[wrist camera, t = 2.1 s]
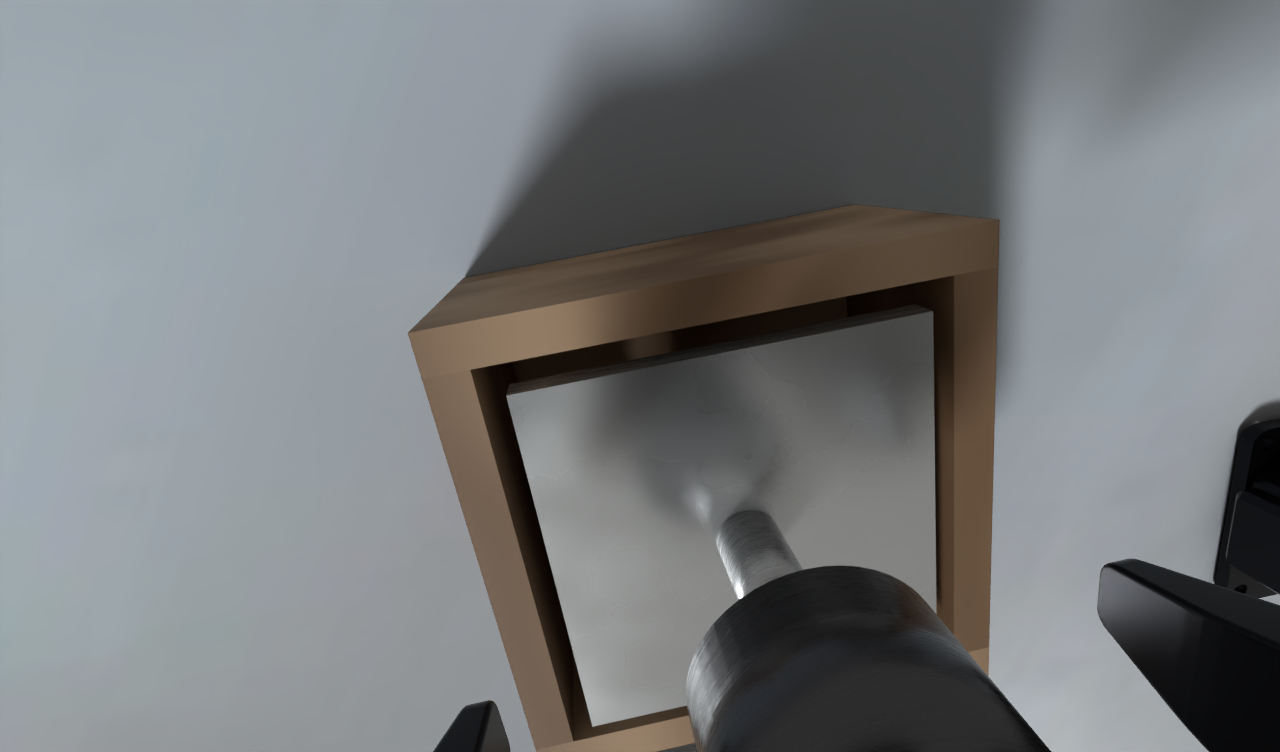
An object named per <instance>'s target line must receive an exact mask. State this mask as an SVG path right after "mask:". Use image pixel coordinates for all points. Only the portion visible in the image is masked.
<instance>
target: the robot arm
mask: <svg viewBox="0 0 1280 752" xmlns="http://www.w3.org/2000/svg"><path fill="white" fill-rule="evenodd" d="M1275 594H1279V595H1280V419H1276V420H1271V421H1266V422H1262V423H1257V424H1254V425H1252V426H1250V427H1249V428H1247V429H1246V430H1245V431H1244V433H1243V434H1242V435H1241V437H1240V440H1239V445H1238V451H1237V456H1236V462H1235V468H1234V474H1233V480H1232V485H1231V491H1230V497H1229V503H1228V509H1227V515H1226V520H1225V526H1224V532H1223V538H1222V544H1221V550H1220V555H1219V561H1218V567H1217V573H1216V579H1215V584H1212V583H1209V582H1206V581H1203V580H1200V579H1196V578H1193V577H1190V576H1187V575H1184V574H1181V573H1178V572H1175V571H1172V570H1169V569H1166V568H1162V567H1159V566H1156V565H1153V564H1150V563H1147V562H1144V561H1141V560H1137V559H1125V560H1121V561H1116V562H1112V563H1108V564H1106V565H1104V567H1103V568H1102V569H1101V573H1100V583H1099V594H1098V605H1097V610H1098V614H1099V617H1100V620H1101V621H1102V623H1103V625H1104V626H1105V628H1106V629H1107V630H1108V632H1109V633H1110V634H1111V635H1112V637H1113V638H1114V639H1115V640H1116V642H1117V643H1118V644H1119V645H1120V647H1121V648H1122V649H1123V650H1124V652H1125V653H1126V654H1127V655H1128V656H1129V658H1130V659H1131V660H1132V661H1133V663H1134V664H1135V665H1136V666H1137V668H1138V669H1139V670H1140V671H1141V673H1142V674H1143V675H1144V676H1145V678H1146V679H1147V680H1148V681H1149V683H1150V684H1151V685H1152V686H1153V687H1154V689H1155V690H1156V691H1157V692H1158V694H1159V695H1160V696H1161V697H1162V699H1163V700H1164V701H1165V702H1166V704H1167V705H1168V706H1169V707H1170V709H1171V710H1172V711H1173V712H1174V713H1175V714H1176V716H1177V717H1178V718H1179V719H1180V720H1181V722H1182V723H1183V724H1184V725H1185V726H1186V727H1187V728H1188V730H1189V731H1190V732H1191V733H1192V734H1193V735H1194V736H1195V737H1196V738H1197V739H1198V741H1199V742H1200V743H1201V744H1202V745H1203V746H1204V747H1205V748H1206V749H1207V750H1208V751H1209V752H1280V605H1277V604H1274V603H1271V602H1268V601H1264V600H1261V599H1258V598H1262V597H1266V596H1271V595H1275ZM433 752H510V746H509V741H508V738H507V735H506V732H505V729H504V726H503V723H502V720H501V717H500V714H499V711H498V708H497V706H496V704H495V703H494V702H493V701H484V702H480V703H475V704H471V705H467V706H465V707H464V708H463V709H462V710H461V711H460V713H459V714H458V716H457V717H456V719H455V720H454V722H453V723H452V725H451V726H450V728H449V729H448V731H447V732H446V733H445V735H444V736H443V738H442V739H441V741H440V742H439V744H438V745H437V747H436V748H435V750H434V751H433Z"/></svg>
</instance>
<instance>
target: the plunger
mask: <svg viewBox="0 0 1280 752" xmlns="http://www.w3.org/2000/svg"><path fill="white" fill-rule="evenodd" d="M506 397H507V401H508V405H509V409H510V413H511V416H512V420H513V424H514V428H515V432H516V436H517V439H518V443H519V447H520V451H521V455H522V459H523V462H524V466H525V470H526V474H527V478H528V482H529V485H530V489H531V493H532V497H533V501H534V505H535V508H536V512H537V516H538V520H539V524H540V527H541V531H542V535H543V539H544V543H545V547H546V550H547V554H548V558H549V562H550V566H551V570H552V573H553V577H554V581H555V585H556V589H557V593H558V596H559V600H560V604H561V608H562V612H563V616H564V619H565V623H566V627H567V631H568V635H569V638H570V642H571V646H572V650H573V654H574V658H575V661H576V665H577V669H578V673H579V677H580V681H581V684H582V688H583V692H584V696H585V700H586V704H587V707H588V711H589V715H590V719H591V723H592V727H594V726H598V725H603V724H607V723H611V722H616V721H620V720H625V719H629V718H634V717H638V716H642V715H647V714H651V713H656V712H660V711H665V710H669V709H673V708H678V707H682V706H687V709H688V714H689V718H690V723H691V727H692V732H693V736H694V741H695V746H696V750H697V752H1051V751H1050V750H1049V749H1048V747H1047V746H1046V745H1045V744H1044V743H1043V741H1042V740H1041V739H1040V738H1039V737H1038V735H1037V734H1036V733H1035V732H1034V731H1033V729H1032V728H1031V727H1030V726H1029V725H1028V723H1027V722H1026V721H1025V720H1024V719H1023V717H1022V716H1021V715H1020V714H1019V713H1018V711H1017V710H1016V709H1015V708H1014V707H1013V705H1012V704H1011V703H1010V702H1009V701H1008V699H1007V698H1006V697H1005V696H1004V695H1003V693H1002V692H1001V691H1000V690H999V689H998V687H997V686H996V685H995V684H994V683H993V681H992V680H991V679H990V678H989V677H988V675H987V674H986V673H985V672H984V671H983V669H982V668H981V667H980V666H979V665H978V663H977V662H976V661H975V660H974V659H973V657H972V656H971V655H970V654H969V653H968V651H967V650H966V649H965V648H964V647H963V645H962V644H961V643H960V642H959V641H958V639H957V638H956V637H955V636H954V635H953V633H952V632H951V631H950V630H949V629H948V627H947V626H946V625H945V624H944V623H943V621H942V620H941V619H940V618H939V617H938V615H937V611H936V520H935V429H934V339H933V311H931V310H929V309H926V308H923V307H921V306H918V305H915V304H913V305H908V306H903V307H898V308H893V309H888V310H883V311H877V312H872V313H867V314H862V315H857V316H852V317H847V318H842V319H837V320H832V321H827V322H822V323H817V324H811V325H806V326H801V327H796V328H791V329H786V330H781V331H776V332H771V333H766V334H761V335H756V336H750V337H745V338H740V339H735V340H730V341H725V342H720V343H715V344H710V345H705V346H700V347H695V348H690V349H684V350H679V351H674V352H669V353H664V354H659V355H654V356H649V357H644V358H639V359H634V360H629V361H624V362H618V363H613V364H608V365H603V366H598V367H593V368H588V369H583V370H578V371H573V372H568V373H563V374H557V375H552V376H547V377H542V378H537V379H532V380H527V381H522V382H517V383H512V384H509V387H508V391H507V394H506Z"/></svg>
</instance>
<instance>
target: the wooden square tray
mask: <svg viewBox="0 0 1280 752" xmlns="http://www.w3.org/2000/svg"><path fill="white" fill-rule="evenodd" d="M998 260H999V220H996V219H987V218H977V217H968V216H959V215H949V214H940V213H931V212H922V211H912V210H903V209H894V208H884V207H875V206H866V205H856V204H855V205H850V206H844V207H839V208H834V209H828V210H823V211H818V212H812V213H807V214H802V215H796V216H791V217H786V218H780V219H775V220H770V221H764V222H759V223H754V224H748V225H743V226H738V227H732V228H727V229H722V230H716V231H711V232H706V233H700V234H695V235H690V236H684V237H679V238H674V239H668V240H663V241H658V242H652V243H647V244H642V245H636V246H631V247H626V248H620V249H615V250H610V251H604V252H599V253H594V254H588V255H583V256H578V257H572V258H567V259H562V260H556V261H551V262H546V263H540V264H535V265H530V266H524V267H519V268H514V269H508V270H503V271H498V272H492V273H487V274H482V275H476V276H471V277H466V278H463V279H462V280H461V281H460V282H459V283H458V284H457V285H456V286H455V287H454V288H453V289H452V290H451V291H450V292H449V293H448V294H447V295H446V296H445V297H444V298H443V299H442V300H441V301H440V302H439V303H438V304H437V305H436V306H435V307H434V308H433V309H432V310H431V311H430V312H429V313H428V314H427V315H426V316H425V317H424V318H423V319H422V320H420V321H419V322H418V323H417V324H416V325H415V326H414V327H413V328H412V329H411V330H410V331H409V332H408V335H409V339H410V342H411V345H412V348H413V352H414V355H415V358H416V361H417V365H418V368H419V371H420V374H421V378H422V381H423V384H424V387H425V391H426V394H427V397H428V400H429V404H430V407H431V410H432V413H433V417H434V420H435V423H436V426H437V430H438V433H439V436H440V439H441V443H442V446H443V449H444V452H445V456H446V459H447V462H448V465H449V469H450V472H451V475H452V478H453V482H454V485H455V488H456V491H457V495H458V498H459V501H460V505H461V508H462V511H463V514H464V518H465V521H466V524H467V527H468V531H469V534H470V537H471V540H472V544H473V547H474V550H475V553H476V557H477V560H478V563H479V566H480V570H481V573H482V576H483V579H484V583H485V586H486V589H487V592H488V596H489V599H490V602H491V605H492V609H493V612H494V615H495V618H496V622H497V625H498V628H499V631H500V635H501V638H502V641H503V644H504V648H505V651H506V654H507V657H508V661H509V664H510V667H511V670H512V674H513V677H514V680H515V683H516V687H517V690H518V693H519V696H520V700H521V703H522V706H523V709H524V713H525V716H526V719H527V722H528V726H529V729H530V732H531V735H532V739H533V742H534V745H535V748H536V752H657V751H661V750H666V749H670V748H674V747H679V746H683V745H687V744H692V743H695V741H694V736H693V732H692V727H691V723H690V718H689V714H688V709H687V706H682V707H678V708H673V709H669V710H665V711H660V712H656V713H651V714H647V715H642V716H638V717H634V718H629V719H625V720H620V721H616V722H611V723H607V724H603V725H598V726H594V727H592V723H591V719H590V715H589V711H588V707H587V704H586V700H585V696H584V692H583V688H582V684H581V681H580V677H579V673H578V669H577V665H576V661H575V658H574V654H573V650H572V646H571V642H570V638H569V635H568V631H567V627H566V623H565V619H564V616H563V612H562V608H561V604H560V600H559V596H558V593H557V589H556V585H555V581H554V577H553V573H552V570H551V566H550V562H549V558H548V554H547V550H546V547H545V543H544V539H543V535H542V531H541V527H540V524H539V520H538V516H537V512H536V508H535V505H534V501H533V497H532V493H531V489H530V485H529V482H528V478H527V474H526V470H525V466H524V462H523V459H522V455H521V451H520V447H519V443H518V439H517V436H516V432H515V428H514V424H513V420H512V416H511V413H510V409H509V405H508V401H507V397H506V394H507V391H508V387H509V384H512V383H517V382H522V381H527V380H532V379H537V378H542V377H547V376H552V375H557V374H563V373H568V372H573V371H578V370H583V369H588V368H593V367H598V366H603V365H608V364H613V363H618V362H624V361H629V360H634V359H639V358H644V357H649V356H654V355H659V354H664V353H669V352H674V351H679V350H684V349H690V348H695V347H700V346H705V345H710V344H715V343H720V342H725V341H730V340H735V339H740V338H745V337H750V336H756V335H761V334H766V333H771V332H776V331H781V330H786V329H791V328H796V327H801V326H806V325H811V324H817V323H822V322H827V321H832V320H837V319H842V318H847V317H852V316H857V315H862V314H867V313H872V312H877V311H883V310H888V309H893V308H898V307H903V306H908V305H913V304H915V305H918V306H921V307H923V308H926V309H929V310H931V311H933V339H934V429H935V520H936V611H937V615H938V617H939V618H940V619H941V620H942V621H943V623H944V624H945V625H946V626H947V627H948V629H949V630H950V631H951V632H952V633H953V635H954V636H955V637H956V638H957V639H958V641H959V642H960V643H961V644H962V645H963V647H964V648H965V649H966V650H967V651H968V653H969V654H970V655H971V656H972V657H973V659H974V660H975V661H976V662H977V663H978V665H979V666H980V667H981V668H982V669H983V671H984V672H985V673H986V674H987V675H988V666H989V625H990V584H991V544H992V503H993V463H994V422H995V382H996V341H997V301H998Z"/></svg>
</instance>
